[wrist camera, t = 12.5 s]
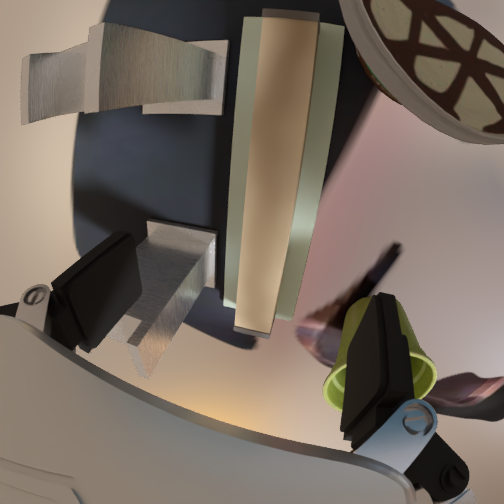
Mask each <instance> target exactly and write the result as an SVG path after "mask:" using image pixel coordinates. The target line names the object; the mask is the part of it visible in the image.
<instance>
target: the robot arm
mask: <svg viewBox="0 0 504 504" xmlns="http://www.w3.org/2000/svg"><path fill="white" fill-rule="evenodd" d="M51 284H52V287H53V291H50V289H49V287H48V286H47V285H44V284H37V285H34V286H32V287H30V288H28V289H27V290H26V291H25V292H24V293H23V294H22V296H21V299H20V302H18V303H13V304H9V305H4V306H0V504H478V503H477V500H476V498H475V496H474V493H473V491H472V489H469V490H468V489H467V485H468V481H469V470H468V467H467V465H466V464H465V462H464V461H463V460H462V459H461V458H460V457H459V456H458V455H457V454H456V453H455V452H454V451H453V450H452V449H451V448H450V447H449V446H448V444H447V443H445V441H444V440H443V439H442V438H441V437H440V436H439V435H438V434H437V433H436V432H435V431H436V428H437V423H438V421H437V415H436V413H435V410H434V409H433V408H432V406H431V405H430V404H428V403H427V402H425V401H423V400H420V399H415V395H414V384H413V375H412V367H411V359H410V352H409V345H408V339H407V337H406V335H403V334H402V332H401V326H400V320H399V314H398V309H397V303H396V299H395V296H394V295H391V294H386V293H382V292H379V293H378V295H373V296H372V298H371V300H370V302H369V304H368V307H367V309H366V311H365V313H364V315H363V318H362V320H361V322H360V324H359V326H358V328H357V330H356V332H355V334H354V337H353V339H352V341H351V343H350V345H349V347H348V351H347V363H346V377H345V389H344V399H343V408H342V417H341V425H340V431H341V432H344V439H343V440H349V441H352V443H351V447H352V448H353V450H352V451H351V452H346V451H342V450H336V449H331V448H326V447H321V446H316V445H311V444H306V443H301V442H296V441H292V440H287V439H283V438H279V437H275V436H271V435H267V434H263V433H259V432H255V431H251V430H248V429H245V428H241V427H238V426H235V425H231V424H228V423H225V422H222V421H219V420H215V419H213V418H210V417H207V416H204V415H202V414H199V413H196V412H194V411H191V410H188V409H186V408H183V407H181V406H178V405H176V404H173V403H171V402H168V401H166V400H164V399H161V398H159V397H157V396H155V395H152V394H150V393H148V392H146V391H144V390H142V389H140V388H137V387H135V386H133V385H131V384H129V383H127V382H125V381H123V380H121V379H119V378H117V377H116V376H114V375H112V374H110V373H108V372H106V371H104V370H103V369H101V368H99V367H97V366H96V365H94V364H92V363H90V362H88V361H87V360H85V359H84V358H82V357H80V356H79V355H77V354H76V353H75V352H76V348H75V347H76V346H77V345H78V346H79V347H80V349H82V350H84V351H85V352H87V353H89V352H90V351H91V350H92V349H93V348H96V347H97V346H98V345H99V344H100V343H101V341H102V340H103V339H104V338H105V337H106V335H107V334H108V333H109V332H110V331H111V330H112V328H113V327H114V326H115V325H116V324H117V323H118V321H119V320H120V319H121V318H122V317H123V316H124V314H125V313H126V312H127V311H128V310H129V309H130V308H131V306H132V305H133V304H134V303H135V302H136V301H137V300H138V299H139V297H140V296H141V294H142V283H141V278H140V272H139V266H138V259H137V253H136V246H135V240H134V238H133V237H132V235H131V234H130V233H128V232H124V231H116V232H115V233H113V234H112V235H111V236H109V237H108V238H107V239H105V240H104V241H103V242H101V243H100V244H99V245H97V246H96V247H95V248H93V249H92V250H91V251H89V252H88V253H87V254H86V255H84V256H83V257H82V258H80V259H79V260H78V261H77V262H75V263H74V264H73V265H72V266H71V267H69V268H68V269H67V270H66V271H65V272H63V273H62V274H61V275H60V276H58V277H57V278H56V279H55V280H54V281H53V282H51Z"/></svg>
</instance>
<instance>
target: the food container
mask: <svg viewBox="0 0 504 504" xmlns="http://www.w3.org/2000/svg"><path fill="white" fill-rule="evenodd" d="M339 2H340V6H341V10H342V14H343V18H344V21H345V24H346V26H347V28H348V31H349V33H350V36H351V38H352V40H353V42H354V43H355V48H356V54H357V57H358V59H359V61H360V63H361V65H362V67H363V69H364V71H365V74H366V75H367V76H368V77H369V78H370V80H371V81H372V82H373V83H374V84H375V86H376V87H377V88H378V89H379V90H380V91H381V92H382V93H384V94H385V95H386V96H388V97H389V98H390V99H392V100H393V101H395V102H397V103H399V104H401V105H403V106H404V107H405V108H407V109H408V110H409V111H410V112H412V113H413V114H414V115H416V116H417V117H418V118H419V119H421V120H422V121H424V122H425V123H427V124H428V125H430V126H432V127H433V128H435V129H436V130H438V131H440V132H442V133H444V134H446V135H449V136H451V137H453V138H455V139H459V140H462V141H465V142H469V143H475V144H484V145H490V144H504V45H503V44H502V43H501V42H500V41H499V40H498V39H497V38H495V36H493V35H492V34H491V33H490V32H489V31H487V30H486V29H485V28H483V27H482V26H481V25H480V24H478V23H477V22H475V21H474V20H472V19H470V18H469V17H467V16H465V15H464V14H462V13H460V12H458V11H456V10H454V9H452V8H450V7H448V6H446V5H444V4H442V3H440V2H438V1H436V0H339Z"/></svg>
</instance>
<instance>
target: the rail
mask: <svg viewBox="0 0 504 504" xmlns="http://www.w3.org/2000/svg"><path fill="white" fill-rule="evenodd" d="M262 17H263V22H262V31H261V40H260V49H259V59H258V68H257V78H256V88H255V98H254V108H253V118H252V128H251V138H250V149H249V160H248V171H247V182H246V193H245V204H244V216H243V227H242V239H241V251H240V263H239V276H238V288H237V301H236V314H235V325H234V331H237V332H241V333H245V334H249V335H253V336H257V337H262V338H266V339H269V337H270V334H271V330H272V326H273V322H274V319H275V315H276V307H277V302H278V297H279V292H280V287H281V282H282V277H283V272H284V267H285V261H286V256H287V251H288V245H289V240H290V234H291V229H292V223H293V217H294V211H295V205H296V199H297V193H298V187H299V181H300V175H301V168H302V162H303V155H304V149H305V142H306V135H307V128H308V121H309V114H310V106H311V98H312V91H313V82H314V74H315V66H316V57H317V48H318V38H319V34H320V13H314V12H306V11H296V10H284V9H264V8H263V11H262Z"/></svg>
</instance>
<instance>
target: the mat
mask: <svg viewBox="0 0 504 504" xmlns="http://www.w3.org/2000/svg"><path fill="white" fill-rule="evenodd" d="M262 22H263V17H244V22H243V31H242V40H241V50H240V60H239V70H238V81H237V92H236V103H235V115H234V127H233V140H232V154H231V168H230V184H229V200H228V217H227V236H226V257H225V281H224V306H227V307H231V308H235V309H236V301H237V288H238V276H239V263H240V251H241V239H242V227H243V216H244V204H245V193H246V182H247V171H248V160H249V149H250V138H251V128H252V118H253V108H254V98H255V88H256V78H257V68H258V59H259V49H260V40H261V31H262ZM344 28H345V27H344V26H339V25H334V24H328V23H321V22H320V34H319V38H318V48H317V57H316V66H315V74H314V82H313V91H312V98H311V106H310V114H309V121H308V128H307V135H306V142H305V149H304V155H303V162H302V168H301V175H300V181H299V187H298V193H297V199H296V205H295V211H294V217H293V223H292V229H291V234H290V240H289V245H288V251H287V256H286V261H285V267H284V272H283V277H282V282H281V287H280V292H279V297H278V302H277V307H276V315H275V318H280V319H284V320H289V321H292V318H293V314H294V310H295V307H296V303H297V299H298V295H299V291H300V287H301V282H302V278H303V274H304V270H305V266H306V262H307V257H308V253H309V248H310V244H311V239H312V235H313V230H314V225H315V221H316V216H317V211H318V206H319V201H320V196H321V191H322V186H323V180H324V175H325V169H326V164H327V158H328V152H329V146H330V140H331V134H332V127H333V121H334V114H335V107H336V100H337V92H338V85H339V77H340V68H341V59H342V49H343V39H344Z"/></svg>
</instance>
